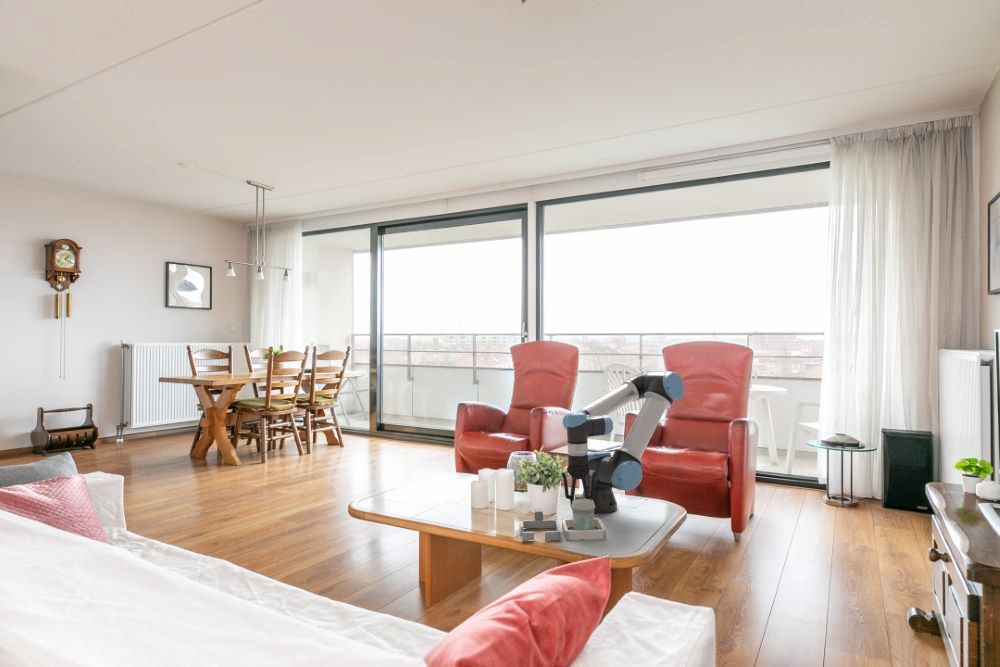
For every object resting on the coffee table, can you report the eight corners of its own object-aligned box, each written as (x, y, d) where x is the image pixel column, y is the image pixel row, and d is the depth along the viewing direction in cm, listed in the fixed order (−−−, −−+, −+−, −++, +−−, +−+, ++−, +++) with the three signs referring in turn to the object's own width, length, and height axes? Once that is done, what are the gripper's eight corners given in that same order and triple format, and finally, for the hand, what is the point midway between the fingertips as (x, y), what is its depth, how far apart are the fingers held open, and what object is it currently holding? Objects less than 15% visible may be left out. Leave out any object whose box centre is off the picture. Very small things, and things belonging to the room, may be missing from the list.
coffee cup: (567, 535, 212) (565, 501, 213) (583, 530, 218) (582, 497, 218) (584, 540, 206) (583, 505, 206) (601, 535, 211) (600, 501, 211)
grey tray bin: (561, 523, 226) (560, 494, 226) (598, 523, 226) (597, 493, 226) (565, 540, 207) (564, 508, 207) (606, 539, 207) (605, 507, 207)
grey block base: (520, 525, 226) (519, 509, 226) (557, 524, 226) (556, 508, 226) (521, 541, 207) (520, 524, 207) (561, 540, 207) (560, 523, 207)
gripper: (557, 456, 221) (559, 520, 220) (601, 455, 221) (603, 519, 220) (555, 453, 228) (557, 514, 228) (597, 451, 228) (600, 513, 228)
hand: (580, 516), depth 224 cm, fingers closed on grey tray bin, 3 cm apart
